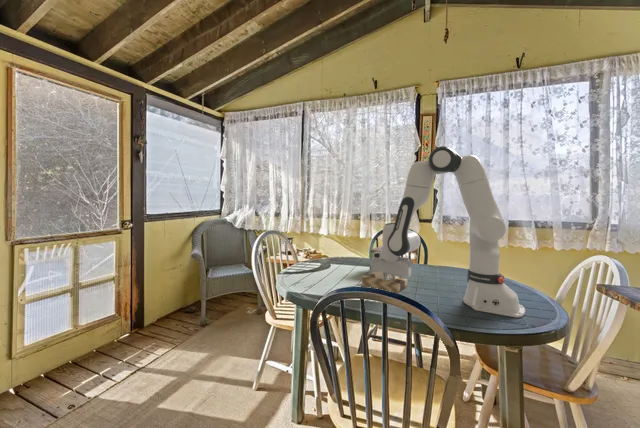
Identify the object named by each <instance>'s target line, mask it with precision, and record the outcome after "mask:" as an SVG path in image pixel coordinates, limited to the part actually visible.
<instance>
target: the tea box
mask: <svg viewBox="0 0 640 428" xmlns="http://www.w3.org/2000/svg"><path fill="white" fill-rule="evenodd" d="M382 246H383V245H380V246H377V247H374V248H371V249H370V253H369V254H370V255H369V273H368V274H369V275H370V274H371V273H372V272H376V271H372V270H371V260H372V258H373V256H372V254H373V253H375V252H378V251H382ZM369 275H368V276H369ZM389 275H390V274H389ZM390 276H391V275H390Z"/></svg>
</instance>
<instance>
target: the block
mask: <svg viewBox="0 0 640 428" xmlns="http://www.w3.org/2000/svg"><path fill="white" fill-rule="evenodd" d="M374 273H375V277H376V278H378V279H383V280H387V279H386V277H385V273H383V271H379V272H374Z"/></svg>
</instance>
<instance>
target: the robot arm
mask: <svg viewBox="0 0 640 428" xmlns="http://www.w3.org/2000/svg"><path fill="white" fill-rule="evenodd" d="M448 173H452V174H453V175H454V176H455V179H456V180H457V181H456V182H457V185H458V189H459V191H460V194H461V198H462V200H463V204H464V206H465V209H466V212H467V215H468V217H469V220H470V221H469V227H468V228H469V231H468V232H469V235H468V236H469V263H468V269H467V273H466V274H467V275H466V282H467V286H466V290H465V294H464V296H463V298H462V302H463V303H464V304H466V305H467V306H469V307H471V308H472V309H473V310H474V311H478V312H484V313H489V314H494V315H500V316H506V317H512V318H517V319H518V318H522V317H523V316H524V315H525V314H526V308H525V307H524V306H523V304H520V301H519V297H518V294H517V292H515V291H514V290H513V289H511V288H510V287H509V286H508V285H506V284H505V275H504V274H501V273H500V259H501V257H500V256H501V253H500V247H499V240H501V239H502V238H503V237H504V236H505V234H506V231H507V228H506V223H505V222H504V219H503V216H502V214H501V212H500V209H499V207H498V204H497V202H496V200H495V198H494V195H493V192H492V188H491V186H490V182H489V179H488V175H487V173H486V170H485V168H484V166H483V164H482V161H481V160H480V158H479V157H478V156H477V155H473V154H471V155H470V154H467V155H464V156H461V155H460V154H459V153H457V152H456V151H455V150H454V149H452V147H449V146H443V145H442V146H438V147H435V148H433V149H432V150H431V152H430V154H429V156H428V159H427V160H419V161H415V162H414V163H412V165H411V167H410V169H409V172H408V174H407V177H406V183H405V186H404V187H405V188H404V193H403V196H402V200H401V202H400V204H399V207H398V211H397V215H396V218H395V222H387V223H385V224H384V226H383V229H382V234H381V235H382V236H381V237H382V238H381V241H382V245H381V246H382V251H378V252H375V253H373V254H372V256H373V258H372V260H371V270H372V271H376V272H379V271H383V273H385V277H386V279H387V281H392V282H393V280H394V278H395V277H399V278H404V279H408V278H410V277H411V276H412V260H411V259H410V258H408V257H403V256H404V255H406V254H408V253H411V252H414V251H417V249H419V248H420V247H421V244H422V240H421V237H420V235H419V233H417V231H413V230H411V229H410V225H411V221H412V218H413V216H414V214H415V213H416V211H418V210H419V209H420V208H421V207H423V206H424V205H425V204H426V203H428V200H429V198H430V195H431V192H432V186H433V180H434V179H435V177H436V175H439V174H448ZM389 274H390V276H391V277H392V279H389V276H388V275H389Z"/></svg>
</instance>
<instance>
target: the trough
mask: <svg viewBox="0 0 640 428" xmlns="http://www.w3.org/2000/svg"><path fill="white" fill-rule="evenodd" d="M388 276H389V279H392V277H391V275H388ZM361 285H362V286H365V285H366V286H365V287H369V288H370V287H371V288H373V287H374V289H377V288H379V290H381V289H384V290H383V291H386V290H388V291H387V292H390V291H392V292H391V293H394V292H395V294H398V293H400V292H402V291H403V290H405V289H406V288H407V287H408V278H405V277H400V276H396V277H395V278H394V280H393V282H392V281H387V280H383V279H378V278H376V277H375V273H374V272H372V273H371V274H370V276H369V275H364V276H361Z"/></svg>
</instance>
